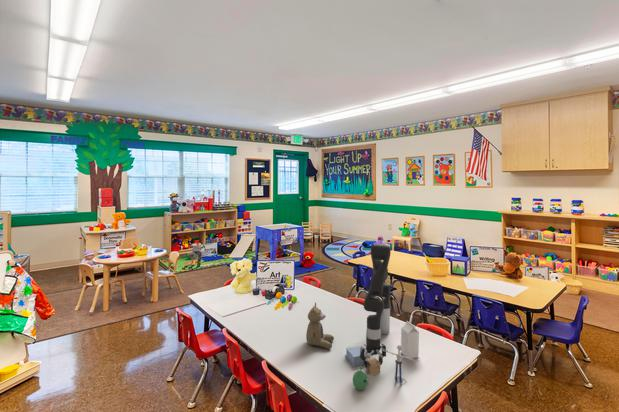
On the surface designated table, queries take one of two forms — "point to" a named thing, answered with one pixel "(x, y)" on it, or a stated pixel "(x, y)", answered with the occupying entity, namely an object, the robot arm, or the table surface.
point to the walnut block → (373, 366)
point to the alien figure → (399, 364)
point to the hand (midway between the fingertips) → (373, 365)
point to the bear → (317, 330)
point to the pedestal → (354, 355)
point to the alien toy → (360, 379)
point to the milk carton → (409, 341)
